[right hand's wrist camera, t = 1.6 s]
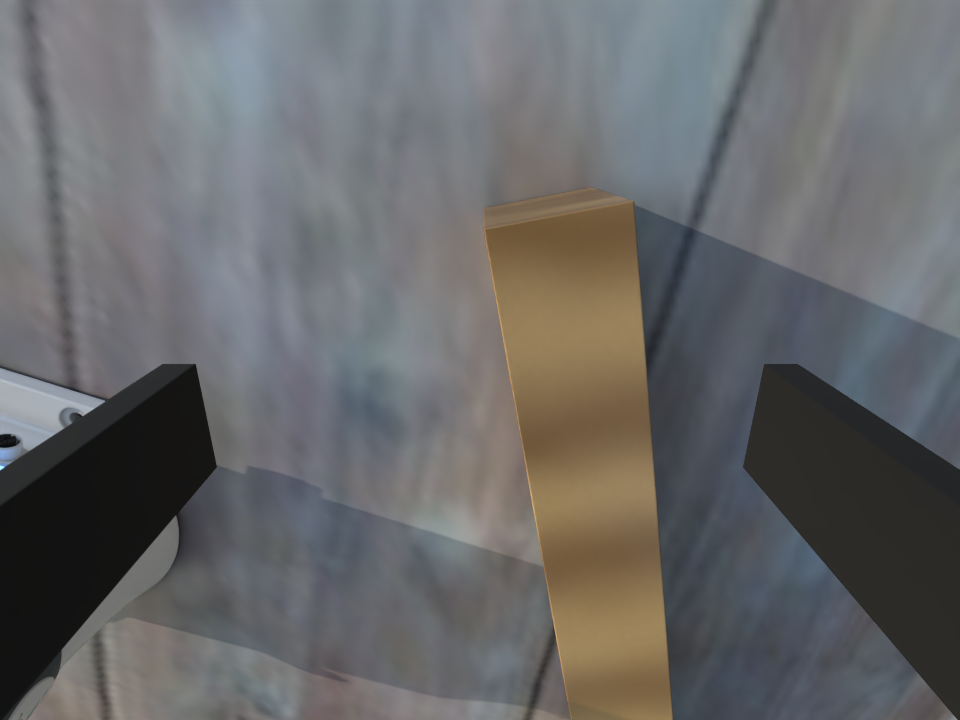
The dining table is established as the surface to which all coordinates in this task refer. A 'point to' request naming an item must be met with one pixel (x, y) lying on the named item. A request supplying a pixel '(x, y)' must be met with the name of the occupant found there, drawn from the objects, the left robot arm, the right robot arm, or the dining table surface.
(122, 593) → the left robot arm
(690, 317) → the dining table surface
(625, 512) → the bar
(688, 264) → the dining table surface
